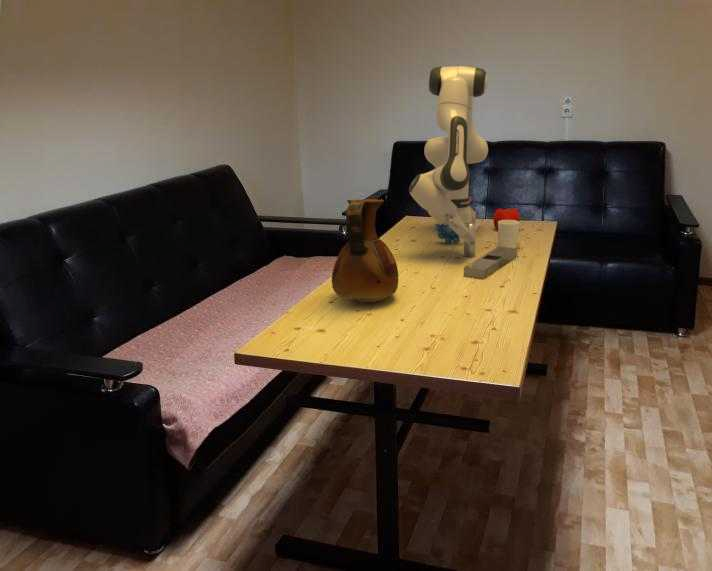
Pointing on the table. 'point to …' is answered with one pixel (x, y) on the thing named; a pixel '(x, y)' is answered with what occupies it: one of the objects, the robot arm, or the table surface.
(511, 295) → the table surface
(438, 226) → the grapes
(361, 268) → the ceramic pitcher
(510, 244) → the white cup
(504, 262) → the grey slab
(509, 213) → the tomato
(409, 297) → the table surface
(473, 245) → the pin
